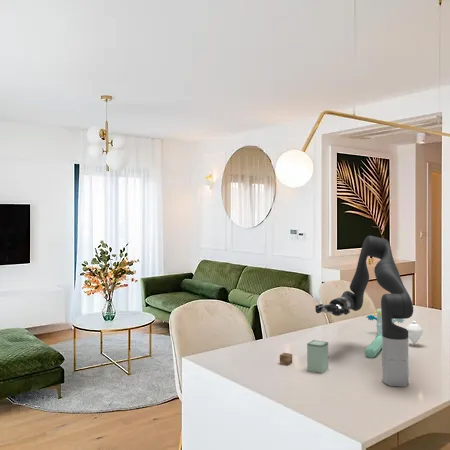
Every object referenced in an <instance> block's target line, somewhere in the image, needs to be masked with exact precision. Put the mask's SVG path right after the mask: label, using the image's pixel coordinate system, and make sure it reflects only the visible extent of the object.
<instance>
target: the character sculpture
mask: <svg viewBox="0 0 450 450" xmlns="http://www.w3.org/2000/svg"><path fill="white" fill-rule="evenodd" d="M366 319H368V320H369V321H374V320H375V321H376V336H377V335H378V334H382V312H381V308H377V309H376V310H375V311H373V313H372V314H370V315H367V316H366ZM395 322H397V323H398V324H404V322H406V319H392V323H394V324H395Z"/></svg>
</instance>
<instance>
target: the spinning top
mask: <svg viewBox="0 0 450 450" xmlns="http://www.w3.org/2000/svg"><path fill="white" fill-rule="evenodd" d="M405 329H407V330H408V340H410V341H411V343H412V344H413V346H414V347H415V346H416V344H417V342H419V340H420V339H421V337H422V336H423V333H424V331H423V328H422V326H420V324H418V323H417V321H416V320H411V323H409V324H408V325H407V326H406V328H405Z"/></svg>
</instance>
